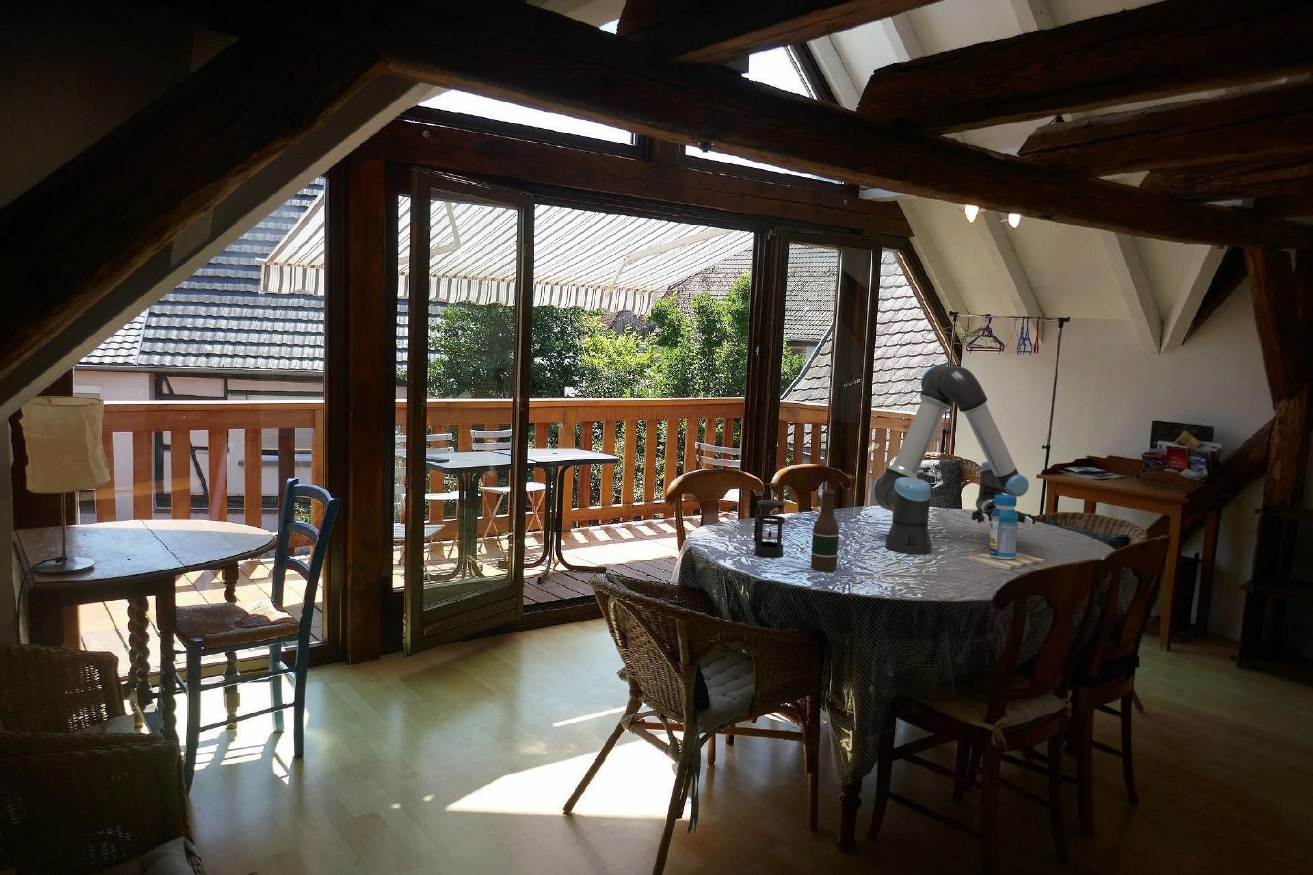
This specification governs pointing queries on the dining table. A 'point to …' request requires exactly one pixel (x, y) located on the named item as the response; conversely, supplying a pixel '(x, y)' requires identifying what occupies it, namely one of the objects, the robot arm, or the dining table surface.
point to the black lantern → (766, 547)
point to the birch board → (1006, 561)
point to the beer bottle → (825, 536)
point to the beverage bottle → (1003, 528)
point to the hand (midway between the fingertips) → (1009, 522)
